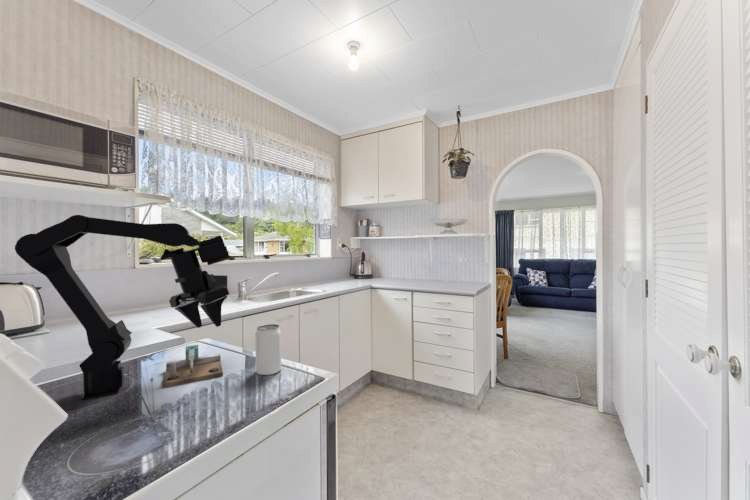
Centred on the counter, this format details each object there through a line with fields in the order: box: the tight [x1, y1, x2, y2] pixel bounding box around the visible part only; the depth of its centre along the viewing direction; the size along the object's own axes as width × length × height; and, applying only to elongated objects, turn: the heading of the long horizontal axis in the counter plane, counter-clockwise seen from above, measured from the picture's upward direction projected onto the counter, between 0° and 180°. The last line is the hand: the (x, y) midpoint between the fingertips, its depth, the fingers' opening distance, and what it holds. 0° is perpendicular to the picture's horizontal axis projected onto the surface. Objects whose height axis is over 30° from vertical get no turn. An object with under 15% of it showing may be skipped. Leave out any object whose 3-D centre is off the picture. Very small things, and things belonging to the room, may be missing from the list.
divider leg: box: [185, 344, 199, 373], centre depth 84 cm, size 3×10×4 cm, turn 29°
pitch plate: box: [162, 353, 224, 389], centre depth 83 cm, size 13×12×4 cm
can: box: [255, 323, 282, 376], centre depth 84 cm, size 6×6×12 cm
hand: (209, 326), depth 83 cm, fingers open, 9 cm apart
